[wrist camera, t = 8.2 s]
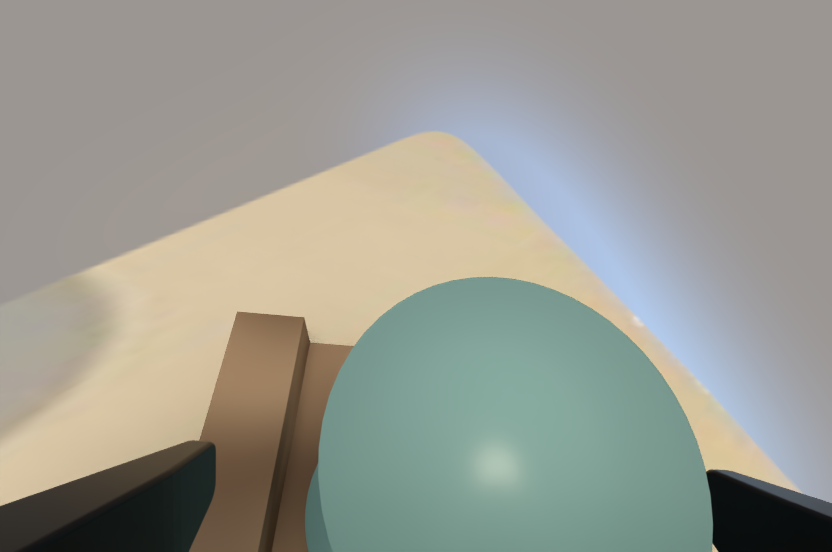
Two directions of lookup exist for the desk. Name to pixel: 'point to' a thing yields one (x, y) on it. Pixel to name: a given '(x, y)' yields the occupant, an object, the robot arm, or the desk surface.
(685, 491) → the teal flanged cylinder
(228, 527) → the notched board
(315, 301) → the desk surface
